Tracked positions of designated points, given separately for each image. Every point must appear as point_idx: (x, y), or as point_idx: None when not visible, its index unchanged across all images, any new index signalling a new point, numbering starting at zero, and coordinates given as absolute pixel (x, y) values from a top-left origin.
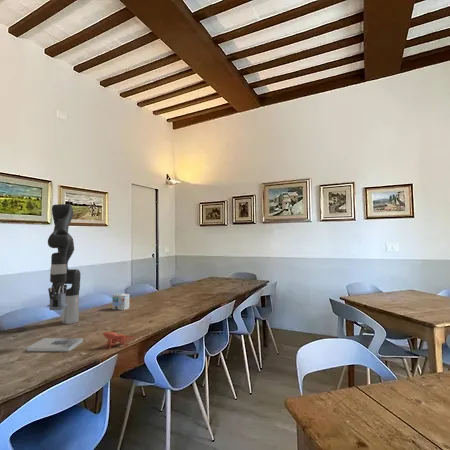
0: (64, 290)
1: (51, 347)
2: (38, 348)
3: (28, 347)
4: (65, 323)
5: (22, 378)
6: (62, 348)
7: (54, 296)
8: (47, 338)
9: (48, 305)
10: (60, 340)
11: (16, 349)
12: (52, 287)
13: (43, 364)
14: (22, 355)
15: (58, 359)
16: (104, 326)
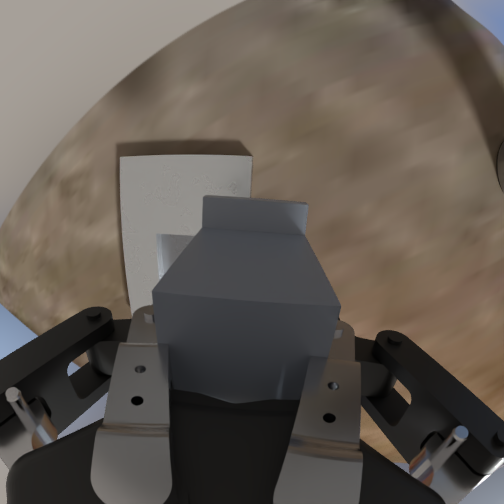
0: (395, 441)
1: (125, 260)
2: (122, 206)
3: (120, 164)
4: (498, 155)
5: (5, 269)
6: (130, 299)
7: (85, 382)
8: (243, 177)
9: (202, 212)
10: None
11: (151, 97)
12: (4, 458)
13: (52, 280)
14: (93, 169)
15: (82, 305)
16: (435, 330)
